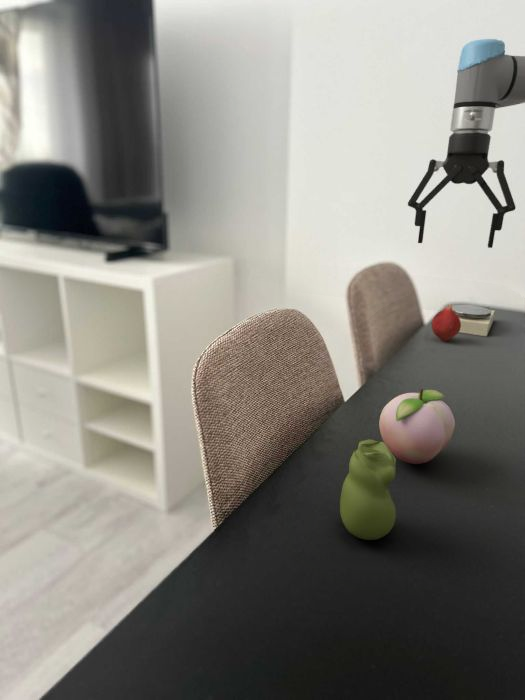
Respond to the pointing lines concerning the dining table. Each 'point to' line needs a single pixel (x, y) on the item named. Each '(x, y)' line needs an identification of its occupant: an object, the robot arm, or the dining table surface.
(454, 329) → the onion
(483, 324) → the scale
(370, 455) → the pear
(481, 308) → the scale platform
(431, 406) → the decorative fruit
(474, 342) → the dining table surface
